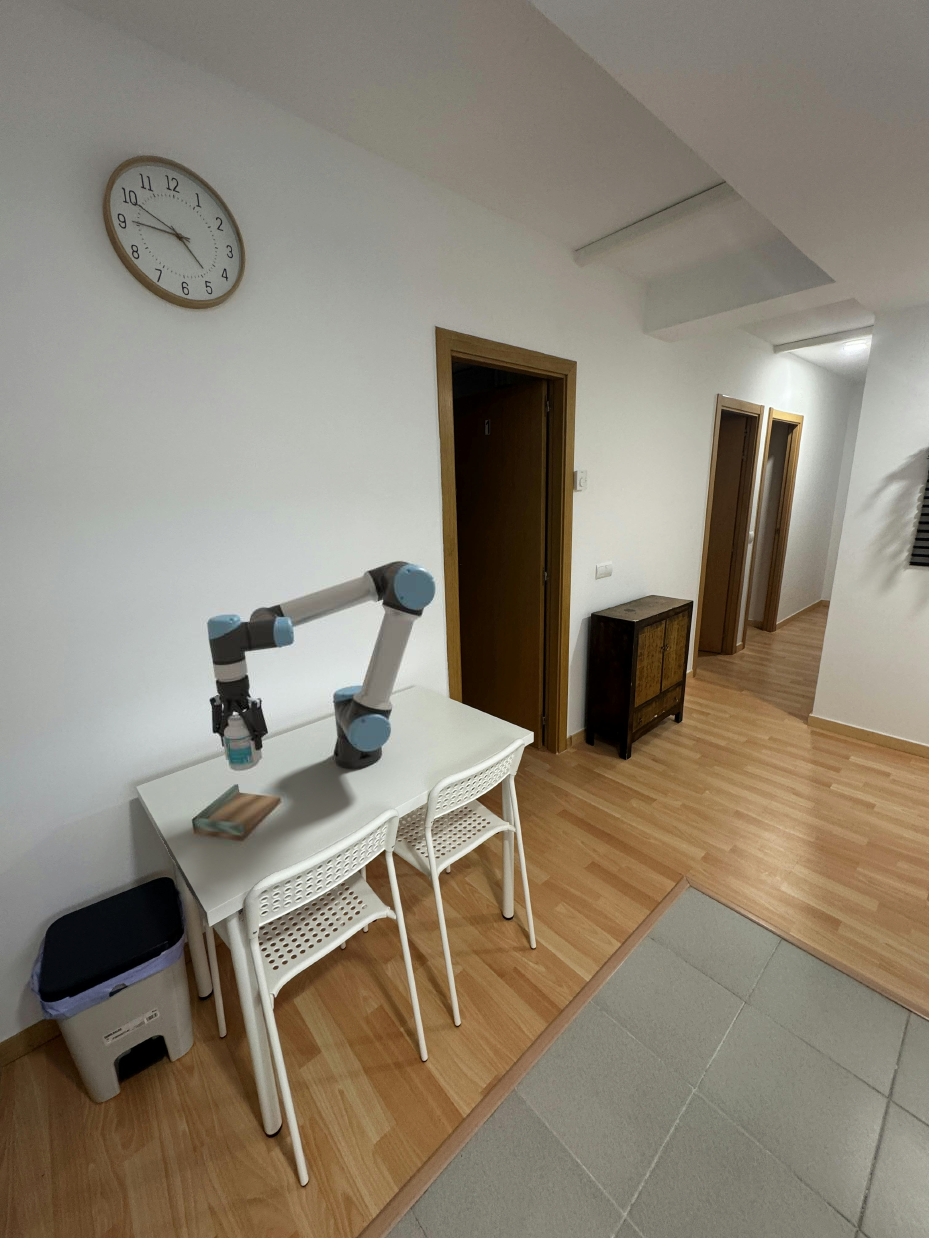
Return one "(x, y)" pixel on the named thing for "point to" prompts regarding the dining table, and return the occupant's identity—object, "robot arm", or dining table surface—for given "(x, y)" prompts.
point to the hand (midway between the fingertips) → (244, 758)
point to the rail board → (234, 814)
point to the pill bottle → (238, 744)
